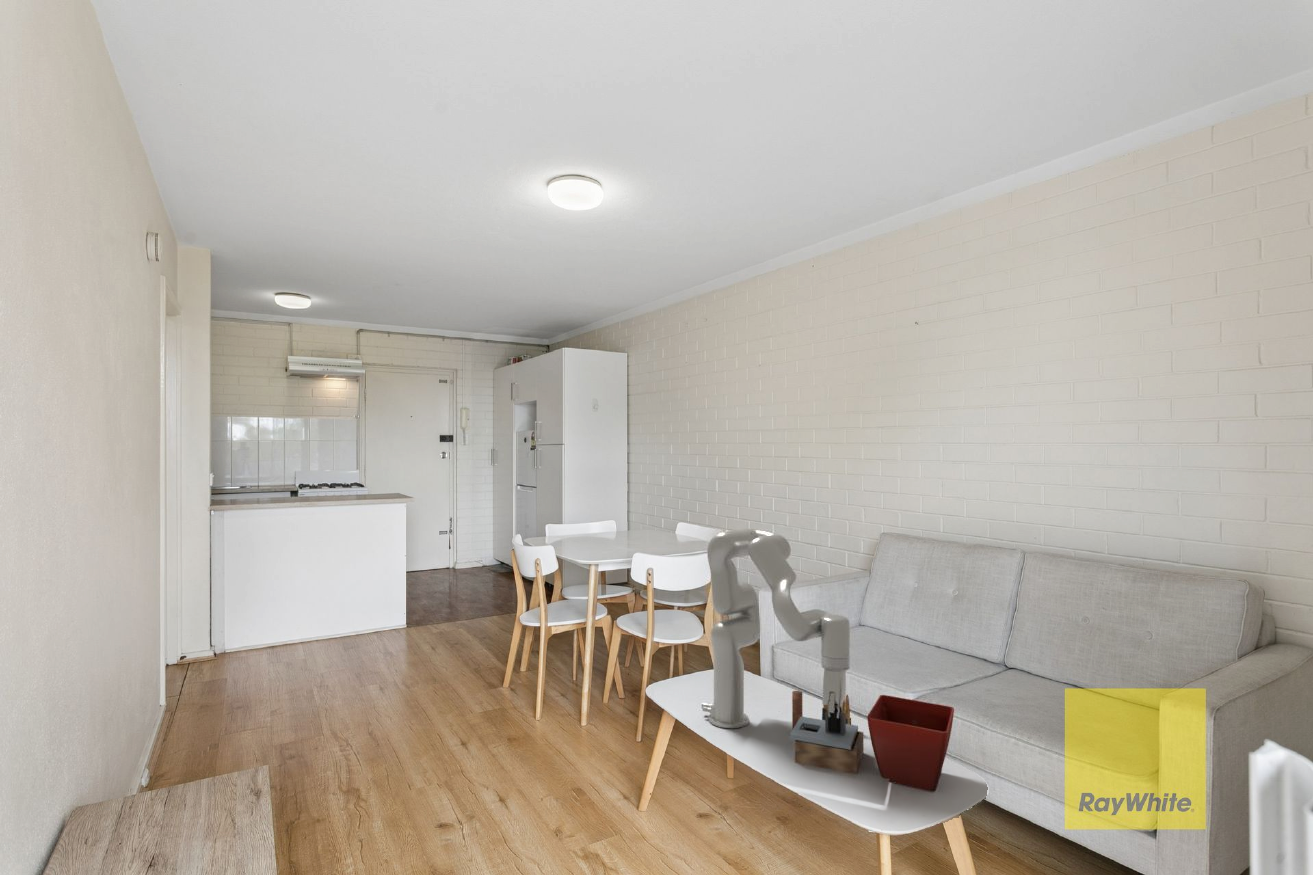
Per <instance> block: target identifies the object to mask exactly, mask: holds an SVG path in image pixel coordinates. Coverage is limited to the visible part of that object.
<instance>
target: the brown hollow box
mask: <svg viewBox="0 0 1313 875" xmlns="http://www.w3.org/2000/svg"><path fill="white" fill-rule="evenodd" d="M802 730H806V731H812V732H818V730H817V729H811V728H805V727H803V728H802ZM864 745H865V744H864V732H863V731H859V730H858V732H857V734H856V737H855V740H854V742H853V745H852V748H851V750H849V749H843V748H838V747H832V746H827V745H821V744H816V743H810V742H805V741H799V740H794V757H795V758H794V763H796V764H800V765H807V766H812V767H815V768H819V769H820V768H821V769H826V770H831V771H837V772H841V773H847V774H852V775H856V776H857V774H858V771H859V767H860V766H861V763H862V762H861V761H862V760H863V755H864V749H865V748H864Z"/></svg>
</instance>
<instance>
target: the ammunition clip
mask: <svg viewBox="0 0 1313 875" xmlns="http://www.w3.org/2000/svg"><path fill="white" fill-rule="evenodd" d="M827 710H829V702H828V703H827V705H825V706H823V705H822V709H821V720H825V713H826V711H827ZM842 712H843V713H846V724H850V725H852V717H851V709H850V698H849V695H848V694H846V695H845V700H844V702H843V704H842Z"/></svg>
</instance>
